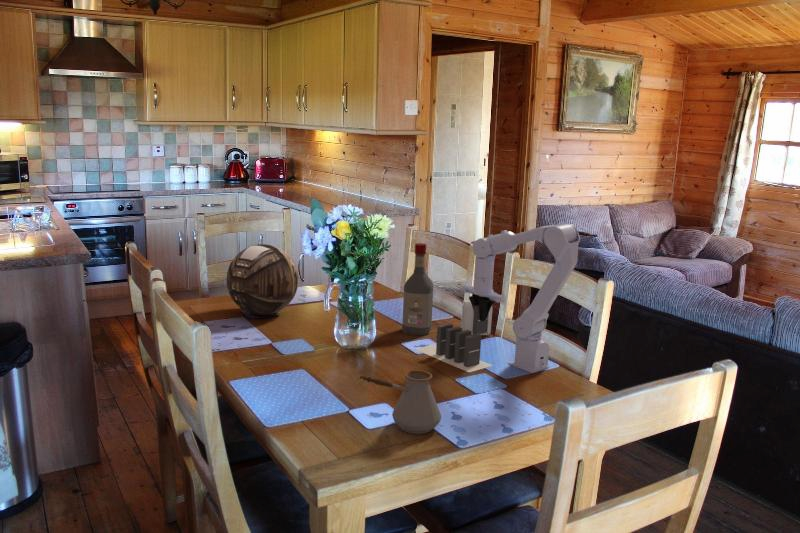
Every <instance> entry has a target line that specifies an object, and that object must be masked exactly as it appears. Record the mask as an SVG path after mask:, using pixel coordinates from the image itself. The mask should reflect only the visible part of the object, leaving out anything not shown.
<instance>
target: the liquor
mask: <svg viewBox="0 0 800 533" xmlns="http://www.w3.org/2000/svg"><path fill="white" fill-rule="evenodd" d="M414 254H415V257H414V258H415V259H414V270H413V273H412V274H411V275H410V277H409V278H408V279H407V280H406V282H404V286H403V302H402V304H403V305H402V328H401V330H402V332H403V334H406V335H407V336H408V335H409V336H410V335H415V336H425V335H429V333H430V332H431V329H432V321H433V320H432V318H433V300H434V282H433V280H432V279H431V278H430V277H429V275H428V274H427V273H426V269H425V265H426V264H425V263H426V262H425V261H426V260H425V259H426V254H427V244H426V243H417V242H416V243H415V244H414Z"/></svg>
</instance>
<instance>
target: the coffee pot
mask: <svg viewBox="0 0 800 533" xmlns="http://www.w3.org/2000/svg"><path fill="white" fill-rule="evenodd" d="M404 377H405V379H406V385H405V386H403V385H398V384H394V383H391V382H388V381H386V380H382V379H379V378H374V377H371V376H368V377H367V376H365V375H360V376H358V377H357V378H356V383H357V385H358V386H361V385H363V382H364V381H367V383H373V384H375V385H379V386H383V387H388V388H393V389H397V390H399V391H402V393H401V395H400V397H399V399H398V400H397V402H396V404H395V407H394V409H393V411H392V414H391V415H392V420H393V421H394V423H395V424H396V425H397V426H398V427H399V428H400V429H401V431H404V432H406V433H409V434H417V435H419V434H420V435H421V434H427V433H429V432H431V431H432V430H433V429H434V428H436V427H437V426H438V425H439V424H440V422H441V420H442V414H441V412H440V408H439V406H438V403H437V400H436V398H435V396H434V392H433V391H432V388H431V385H430V383H431V380H432V379H433V374H432V373H431V372H429V371H425V370H420V369H410V370H408V371H406V372H405V373H404ZM359 378H360V379H361V383H360V384H359V382H358V381H359Z"/></svg>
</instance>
